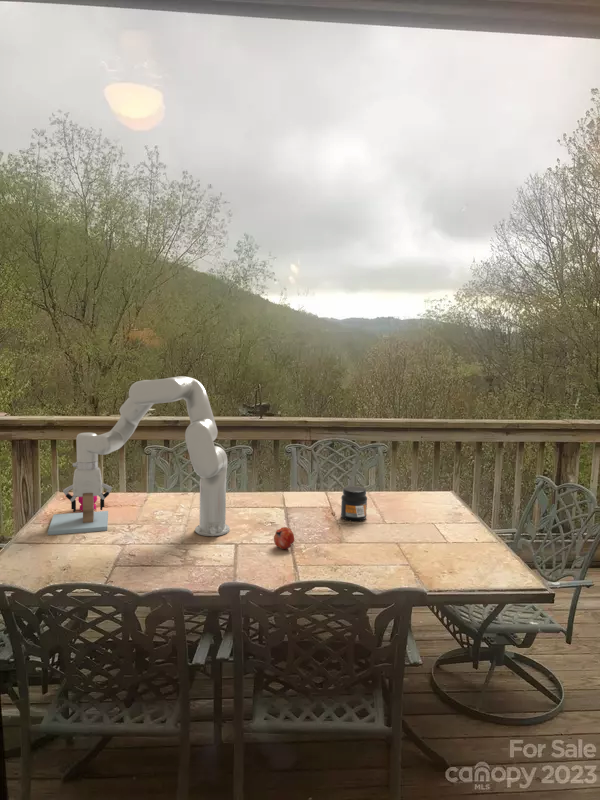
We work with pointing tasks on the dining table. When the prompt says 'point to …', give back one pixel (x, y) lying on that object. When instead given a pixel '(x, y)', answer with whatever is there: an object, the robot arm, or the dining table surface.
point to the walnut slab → (88, 507)
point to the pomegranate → (284, 538)
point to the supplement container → (354, 503)
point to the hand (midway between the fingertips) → (88, 510)
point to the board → (77, 523)
